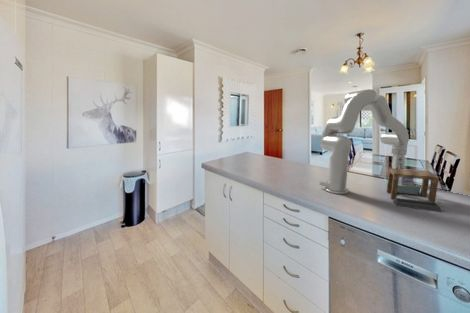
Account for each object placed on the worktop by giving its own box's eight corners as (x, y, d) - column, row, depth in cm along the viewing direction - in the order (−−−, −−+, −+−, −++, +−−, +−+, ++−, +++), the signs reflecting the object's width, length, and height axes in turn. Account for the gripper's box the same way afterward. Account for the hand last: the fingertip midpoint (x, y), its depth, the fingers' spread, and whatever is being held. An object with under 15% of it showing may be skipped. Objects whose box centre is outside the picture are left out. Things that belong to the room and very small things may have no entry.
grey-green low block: (392, 191, 120) (393, 179, 119) (384, 180, 142) (385, 169, 141) (419, 194, 115) (421, 182, 113) (406, 182, 137) (407, 171, 136)
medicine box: (400, 192, 119) (402, 177, 118) (393, 190, 124) (395, 175, 122) (412, 191, 121) (414, 176, 119) (404, 188, 125) (406, 174, 124)
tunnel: (391, 199, 109) (394, 173, 107) (386, 191, 121) (389, 168, 119) (434, 204, 102) (438, 177, 100) (425, 195, 114) (428, 171, 111)
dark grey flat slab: (396, 205, 102) (396, 201, 101) (393, 201, 107) (394, 197, 107) (440, 211, 95) (441, 207, 94) (435, 206, 100) (435, 202, 100)
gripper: (410, 154, 126) (406, 184, 130) (403, 150, 141) (399, 177, 144) (394, 153, 130) (391, 182, 133) (389, 150, 144) (386, 176, 147)
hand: (395, 179), depth 138 cm, fingers closed on grey-green low block, 2 cm apart
